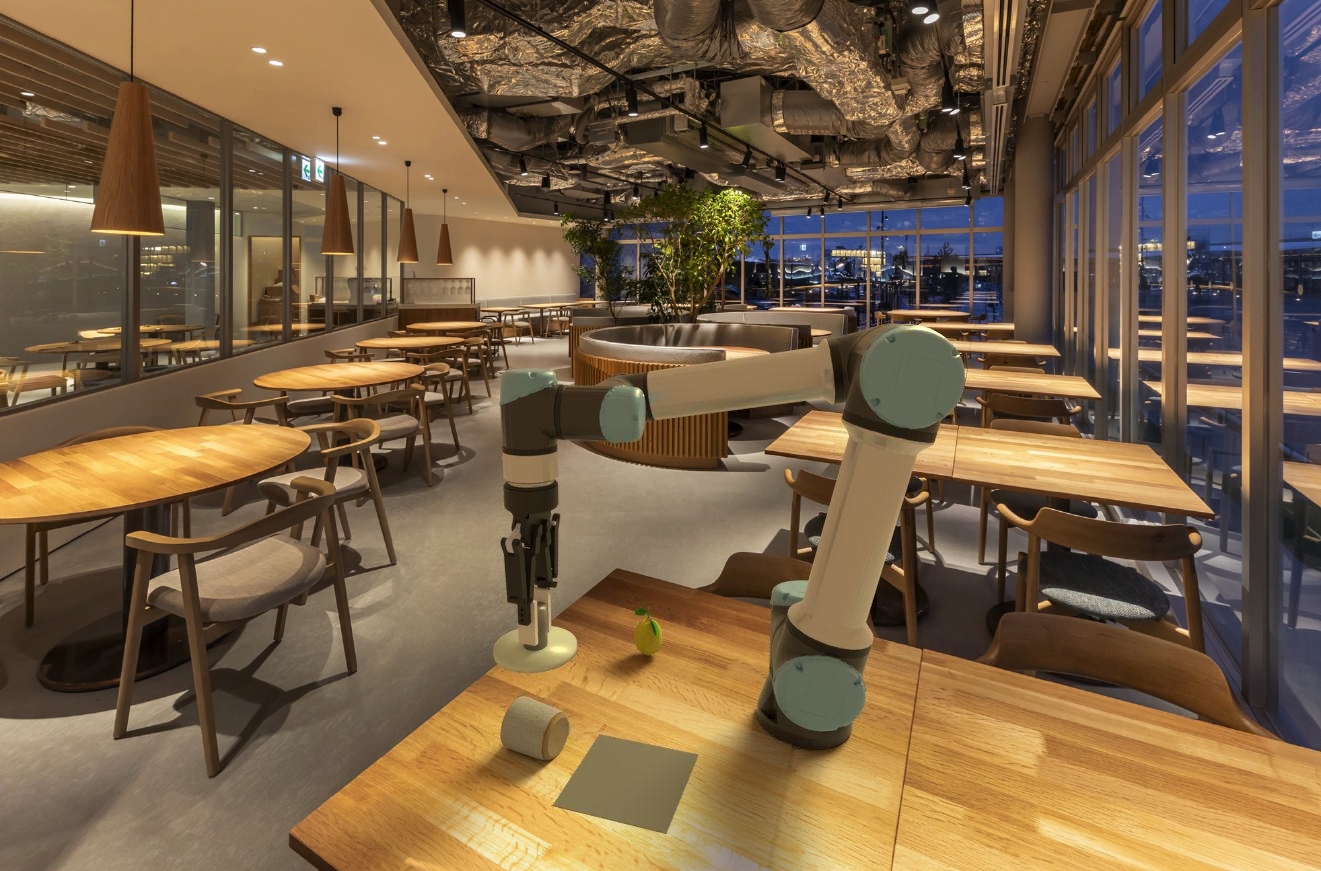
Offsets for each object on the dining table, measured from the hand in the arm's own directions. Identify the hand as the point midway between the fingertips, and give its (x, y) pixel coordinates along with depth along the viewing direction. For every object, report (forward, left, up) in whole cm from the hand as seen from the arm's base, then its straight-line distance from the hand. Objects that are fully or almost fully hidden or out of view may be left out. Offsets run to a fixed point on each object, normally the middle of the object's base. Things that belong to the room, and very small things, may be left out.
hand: (535, 636), depth 97 cm
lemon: (-6, -32, -19) cm, 38 cm away
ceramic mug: (+1, -2, -19) cm, 19 cm away
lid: (0, 0, -2) cm, 2 cm away
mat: (-15, +2, -19) cm, 24 cm away
